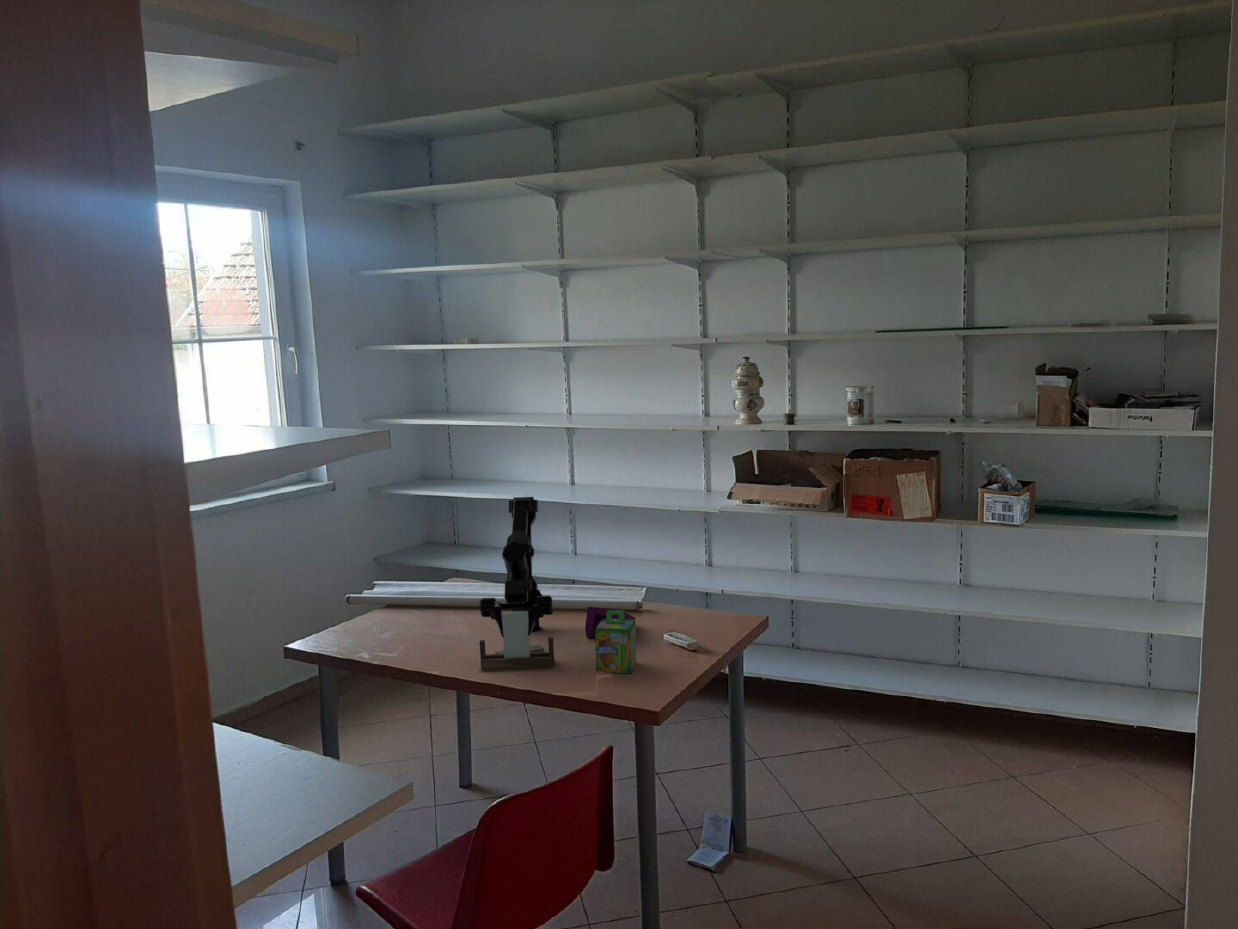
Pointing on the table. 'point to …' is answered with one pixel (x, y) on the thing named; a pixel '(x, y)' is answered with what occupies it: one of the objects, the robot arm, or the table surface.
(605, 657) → the chalk box
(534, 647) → the upper offcut
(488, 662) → the walnut rack
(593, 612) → the mounting bracket
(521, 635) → the sage panel
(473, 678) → the table surface
